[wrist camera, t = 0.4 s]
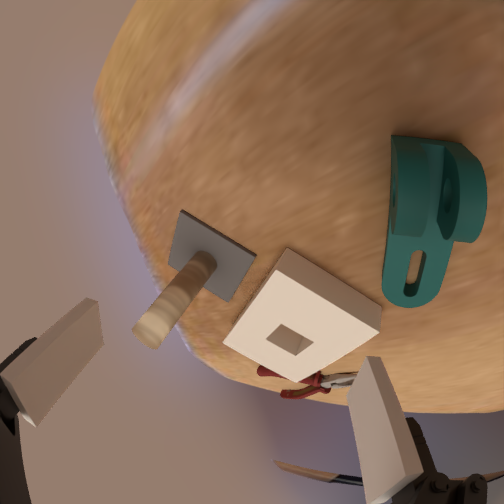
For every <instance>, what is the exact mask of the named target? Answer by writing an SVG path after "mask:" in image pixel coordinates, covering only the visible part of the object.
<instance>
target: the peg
mask: <svg viewBox="0 0 504 504" xmlns="http://www.w3.org/2000/svg"><path fill="white" fill-rule="evenodd" d="M216 268H217V262H216V260H215V259H214V257H213V256H212V255H211V254H209V253H208V252H205V251H198V252H196V253H195V254H194V256H193V257H192V258H191V259H190V260H189V261H188V262H187V264H186V265H185V266H184V267H183V268H182V269H181V271H180V272H179V273H178V274H177V275H176V276H175V278H174V279H173V280H172V281H171V282H170V283H169V285H168V286H167V287H166V288H165V289H164V291H163V292H162V293H161V294H160V295H159V296H158V298H157V299H156V300H155V301H154V303H153V304H152V305H151V306H150V307H149V309H148V310H147V311H146V312H145V313H144V315H143V316H142V317H141V318H140V319H139V321H138V322H137V323H136V325H135V326H134V327H133V328H132V332H133V334H134V335H135V336H136V337H137V338H138V340H139V341H141V342H142V343H143V344H144V345H146V346H148V347H149V348H152V349H158V347H159V346H160V344H161V343H162V342H163V340H164V339H165V338H166V336H167V335H168V333H169V332H170V331H171V329H172V328H173V327H174V325H175V324H176V322H177V321H178V320H179V318H180V317H181V316H182V314H183V313H184V312H185V310H186V309H187V307H188V306H189V305H190V303H191V302H192V301H193V299H194V298H195V297H196V295H197V294H198V293H199V291H200V290H201V288H202V287H203V286H204V284H205V283H206V282H207V280H208V279H209V278H210V276H211V275H212V274H213V272H214V271H215V270H216Z"/></svg>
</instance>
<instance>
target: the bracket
mask: <svg viewBox="0 0 504 504" xmlns="http://www.w3.org/2000/svg"><path fill="white" fill-rule="evenodd" d="M486 209H487V185H486V178H485V174H484V170H483V167H482V165H481V163H480V161H479V160H478V159H477V158H476V157H475V156H474V155H473V154H472V153H471V152H470V151H469V150H468V149H467V148H466V147H465V146H463V145H462V144H461V143H454V142H448V141H441V140H433V139H425V138H416V137H406V136H394V135H391V186H390V205H389V218H388V229H387V239H386V248H385V256H384V263H383V270H382V291H383V294H384V296H385V297H386V298H387V299H388V300H389V301H390V302H391V303H393V304H395V305H397V306H400V307H405V308H414V307H419V306H422V305H424V304H426V303H428V302H430V301H431V300H432V299H433V298H434V297H435V296H436V295H437V294H438V292H439V290H440V287H441V284H442V281H443V278H444V275H445V272H446V268H447V265H448V261H449V258H450V254H451V250H452V246H453V242H454V241H458V242H467V243H472V242H474V241H475V240H476V239H477V238H478V236H479V235H480V233H481V230H482V228H483V224H484V220H485V216H486ZM416 250H422V251H423V254H422V259H421V263H420V268H419V272H418V276H417V280H416V282H415V283H413V284H406V283H405V281H406V277H407V272H408V268H409V263H410V258H411V254H412V253H413V252H414V251H416Z"/></svg>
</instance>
